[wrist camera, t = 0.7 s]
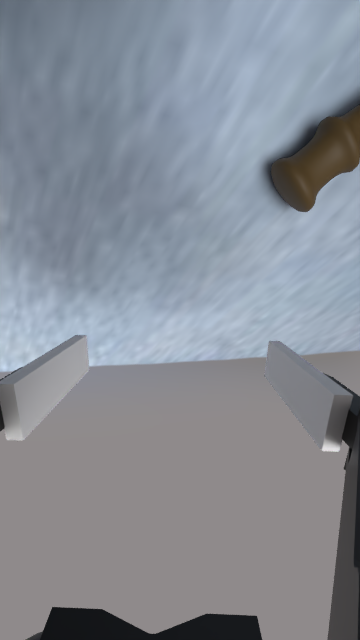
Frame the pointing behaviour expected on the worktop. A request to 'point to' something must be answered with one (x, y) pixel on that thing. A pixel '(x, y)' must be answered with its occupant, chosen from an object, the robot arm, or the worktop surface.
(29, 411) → the robot arm
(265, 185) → the worktop surface
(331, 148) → the kendama
